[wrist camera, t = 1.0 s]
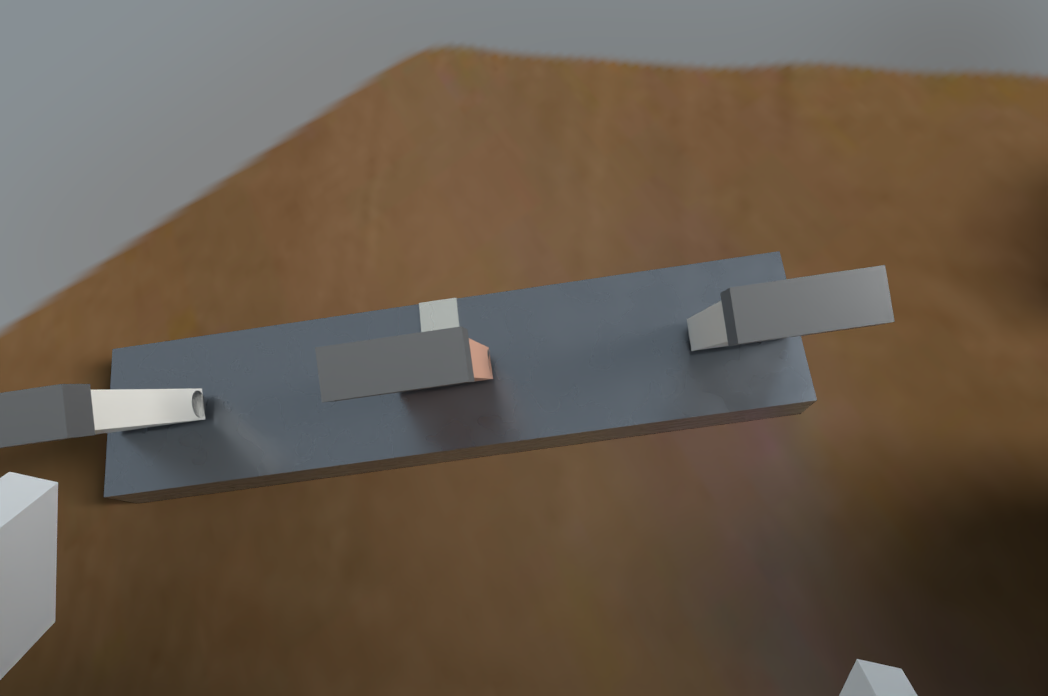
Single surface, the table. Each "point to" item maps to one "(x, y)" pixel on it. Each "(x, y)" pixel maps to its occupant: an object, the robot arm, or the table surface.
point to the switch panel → (462, 409)
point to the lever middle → (401, 364)
